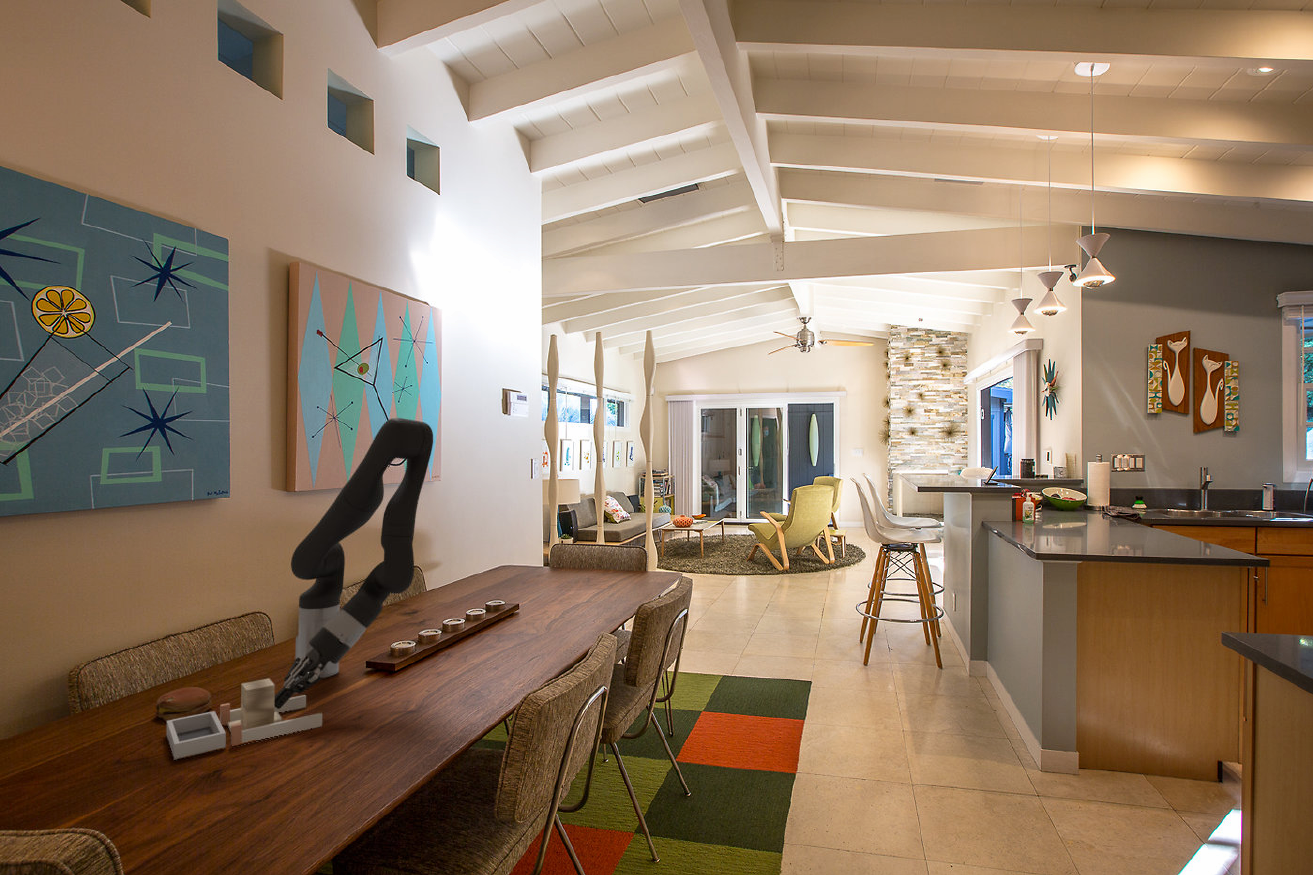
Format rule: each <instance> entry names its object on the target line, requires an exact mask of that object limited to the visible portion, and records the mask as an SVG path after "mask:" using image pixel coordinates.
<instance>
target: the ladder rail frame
mask: <svg viewBox="0 0 1313 875" xmlns="http://www.w3.org/2000/svg"><path fill="white" fill-rule="evenodd" d="M306 707H307V695H305V694H303V695H297V696H293V697H292V696H291V697H290V698H289V699H288V701H287V702H286V703H285V704H284V705H283V706H282V707H281V708H280V709H277V708H276V707H274V712H277V713H278V714H280V713H279V712H282V713H286V712H285V711H287V712H289V711H290V710H291V711H297V710H301V709H305V708H306ZM291 711H290V712H291ZM237 720H241V707H240V708H239V707H238V708H235V709H231V704H230V702H227V703H222V704H220V705H219V721H220V723H221V725H224V726H227V723H228V722H232V721H237ZM322 726H323V713H322V712H318V713H314V714H309V715H304V716H300V717H297V718H291V719H286V720H284V721H282V722H277V723H273V724H268V725H264V726H259V727H255V728H250V729H246V730H242V724H241V723H236V724H232V725H231V733H230V746H231V745H232V746H234V745H238V744H241V743H244V742H248V741H252V740H261V739H265V738H269V739H271V738H270V737H273V738H275V737H274V736H278V737H280V736H279V735H282V736H285V735H284V734H286V735H289V733H290V734H293V732H295V733H298V732H297V731H299V732H302V730H303V731H308V730H310V729H311V728H312V729H316V728H319V727H322ZM312 729H311V730H312ZM265 740H266V739H265ZM261 741H262V740H261Z"/></svg>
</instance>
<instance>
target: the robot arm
mask: <svg viewBox="0 0 1313 875" xmlns="http://www.w3.org/2000/svg"><path fill="white" fill-rule="evenodd" d="M433 445H434V433H433V429H432V427H431V426H430V425H429V424H428V423H426V422H423V421H420V420H414V419H407V418H401V417H392V418H389V419H388V420H386V421H385V422H384V423H383V424H382V426H381V427H380V429H379V430H378V432H377V434H376V435H375V437H374V439H373V440H372V442H371V444H370V446H369V448H368V450H367V452H366V453H365V455H364V457H363V458H362V460H361V462H360V464H359V465H358V466H357V468H356V469H355V471H354V473H353V474H352V475H351V477H350V478H349V480H348V481H347V482H346V483H345V485H344V486H343V488H342V489H341V490H340V492H339V493H338V495H337V496H336V498H335V499H334V501H333V502H332V504H331V505H330V506H329V508H328V510H326V512H325V513H324V514H323V516H322V517H321V519H320V520H319V521H318V523H317V524H316V525H315V527H313V529H311V531H310V532H309V533H308V534H307V535H306V536H305V537H304V539H302V541H301V542H300V543H299V544H298V545H297V546H296V548H295V550H294V551H293V554H292V557H291V562H290V568H291V572H292V574H293V575H294V576H295V577H296V578H298V579H300V580H303V581H304V580H305V581H306V580H307V581H309V580H315V582H314V583H313V584H312V585H311V587H309V588H308V589H306V590H305V591H304V592H302V593H301V594H300V595H299V598H298V635H296V636H295V660H294V661H293V663H292V665H291V667H290V668H289V669H288V672H287V674H286V675H285V676H284V679H283V681H284V683H283V686H282V688H281V689H280V690H279V691H278V692H277V693H276V694H275V700H274V707H276V708H277V709H280V708H281V707H282V706H283V705H284V704H285V703H286V702H287V701H288V699H289V698H292V696H293V695H297V694H298V695H300V694H302V693H303V692H305V691H306V690H308V689H310V688H311V687H313V686H314V685H316V684H317V683H319V682H320V681H321V680H322V679H325V678H329V677H332V676H334V675H337V674H338V673H339V669H340V661H341V659H343V657H344V656H345V655H346V654H347V653H348V652H349V650H351V649H352V647H353V646H354V645H355V644H356V643H357V642H358V641H359V639H361V637H362V636H363V634H364V633H365V631H366V630H367V629H368V628H369V627H370V625H372V623H373V622H374V621H375V620H376V619H377V618H378V616H379V615H380V614H381V612H382V611H383V604H384V602H385V601H386V599H387V598H388V597H389V596H390V594H392V595H393V594H394V595H396V594H398V595H399V594H402V593H404V592H406V591H407V590H408V589H409V588H410V586H411V585H412V582H413V579H414V575H415V574H414V573H415V559H414V558H415V556H414V547H413V542H414V538H415V537H414V536H415V535H414V533H415V527H416V526H415V525H416V518H417V517H416V516H417V515H416V514H417V510H418V504H419V500H420V495H421V492H422V489H423V485H424V481H425V479H426V478H425V477H426V475H427V471H428V467H429V463H430V459H431V456H432V455H431V454H432V451H433V447H434V446H433ZM396 459H402V460H406V467H405V472H404V475H403V478H402V480H401V482H400V483H399V485H398V487H397V489H396V490H395V492H394V493H393V495H392V496H391V498H390V499H389V501H388V502H387V504H386V507H385V510H384V512H383V517H382V525H381V534H380V545H381V547H382V549H383V561H381V562H379V563H378V564H377V565H376V566H375V567H374V568H373V569H372V570H371V571H370V572H369V574H368V575H367V577H366V578H365V580H364V581H363V582H362V584H361V585H360V587H359V589H358V590H357V591H356V593H355V594H354V595H353V596H352V597H351V598H350V599H349V600H348V601H347V602H346V604H345V605H343V606H342V608H341V607H340V606H341V604H340V603H341V596H342V594H343V590H344V581H345V580H344V579H345V577H344V576H345V566H346V565H345V564H346V559H345V558H346V557H345V552H344V551H345V550H344V547H343V546H342V545H341V543H340V542H342V541H343V540H344V539H345V538H347V537H348V536H350V535H352V534H354V533H355V532H356V531H358V530H359V529H360V528H362V527H363V526H364V525H365V524H367V523H368V522H369V521H370V519H371V518H372V517H373V516H374V515H375V513H376V512H377V511H378V509H379V507H380V506H381V505H382V503H383V500H384V497H385V496H384V494H385V490H384V489H385V488H384V473H385V471H386V470H387V469H388V467H389V465H390V464H391V463H392V462H393V461H394V460H396ZM340 608H341V609H340Z"/></svg>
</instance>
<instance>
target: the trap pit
mask: <svg viewBox="0 0 1313 875" xmlns="http://www.w3.org/2000/svg"><path fill="white" fill-rule="evenodd" d="M226 735H227V733H226V731H225V728H224V727H223V726H222V725H221V723H220V718H219V717H218V715H217V713H216V711H215V710H213V711H209V712H208V711H206V712H204V713H201V714H198V715H193V716H188V717H183V718H178V719H173V720H168V721H166V739H167V742H168V741H169V742H168V746H169V745H170V746H169V749H170V748H171V749H170V751H172V752H171V755H172V758H173V757H174V758H173V761H174V760H176V761H178V760H177V759H179V758H183V757H186V756H191V755H197V754H201V753H205V752H208V751H212V750H216V749H220V748H225V747H226V746H227V745H226V741H227V736H226ZM201 755H202V754H201ZM197 756H198V755H197Z"/></svg>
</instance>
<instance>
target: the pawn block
mask: <svg viewBox="0 0 1313 875" xmlns="http://www.w3.org/2000/svg"><path fill="white" fill-rule="evenodd" d="M240 685H241V686H240V687H241V689H240V690H241V691H240V694H241V695H240V696H241V698H240V708H241V720H237V721H232V722H228V723H227V725H226V727H227V726H228V728H229V730H230V732H231V725H232V724H236V723H241V724H242V730H246V729H250V728H255V727H259V726H264V725H268V724H273V723H277V722H282V721H285V720H284V719H283V718H282V716H281V714H280V713H277V712H274V700H275V695H276V694H275V693H276V691H275V690H276V689H275V688H276V685H275V683H274V682H273V681H272V680H271V678H265V679H258V680H253V681H248V682H242V683H241V684H240ZM228 728H227V729H228ZM229 730H228V731H229ZM230 732H229V733H230Z"/></svg>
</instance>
